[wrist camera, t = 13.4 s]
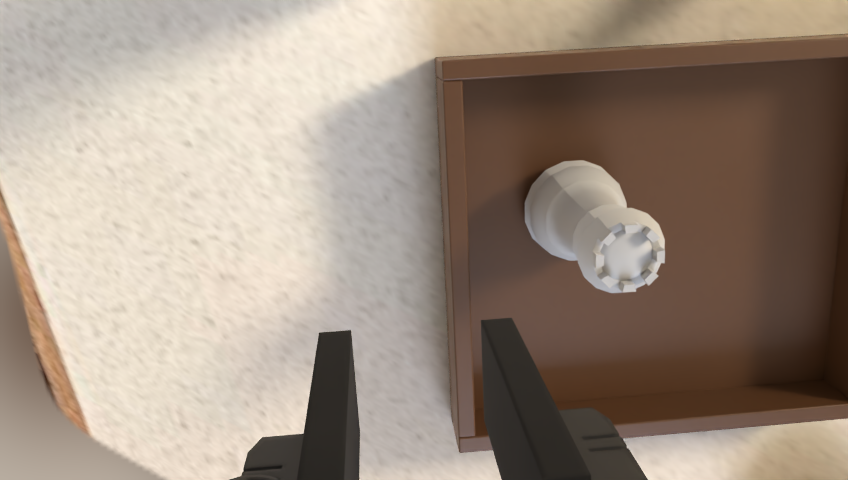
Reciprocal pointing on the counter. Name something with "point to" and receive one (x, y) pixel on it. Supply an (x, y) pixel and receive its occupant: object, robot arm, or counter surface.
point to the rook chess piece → (594, 226)
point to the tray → (678, 219)
